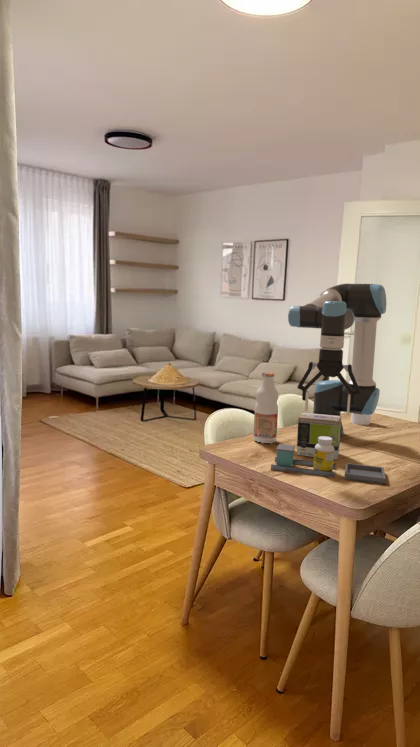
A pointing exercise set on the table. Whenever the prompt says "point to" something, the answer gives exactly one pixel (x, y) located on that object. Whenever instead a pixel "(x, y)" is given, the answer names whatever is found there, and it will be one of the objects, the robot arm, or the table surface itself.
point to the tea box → (317, 432)
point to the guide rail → (303, 470)
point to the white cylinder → (360, 419)
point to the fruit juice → (266, 410)
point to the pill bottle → (324, 454)
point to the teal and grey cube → (285, 455)
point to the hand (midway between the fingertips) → (326, 412)
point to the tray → (364, 473)
